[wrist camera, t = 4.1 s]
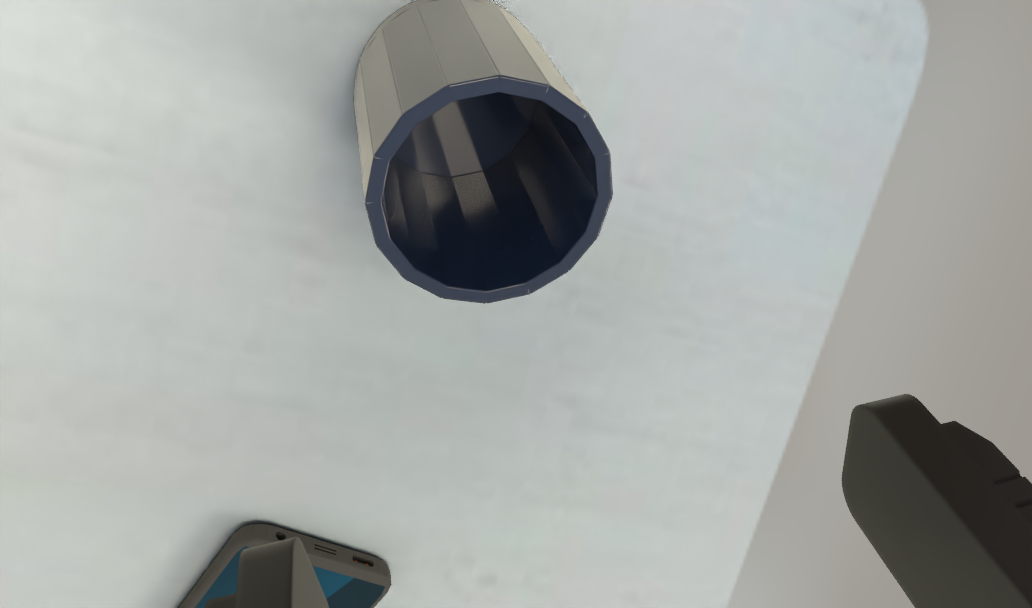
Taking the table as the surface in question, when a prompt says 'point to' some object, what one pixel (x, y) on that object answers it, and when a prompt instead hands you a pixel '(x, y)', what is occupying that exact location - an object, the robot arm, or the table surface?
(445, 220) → the pot
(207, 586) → the smartphone
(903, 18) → the table surface
